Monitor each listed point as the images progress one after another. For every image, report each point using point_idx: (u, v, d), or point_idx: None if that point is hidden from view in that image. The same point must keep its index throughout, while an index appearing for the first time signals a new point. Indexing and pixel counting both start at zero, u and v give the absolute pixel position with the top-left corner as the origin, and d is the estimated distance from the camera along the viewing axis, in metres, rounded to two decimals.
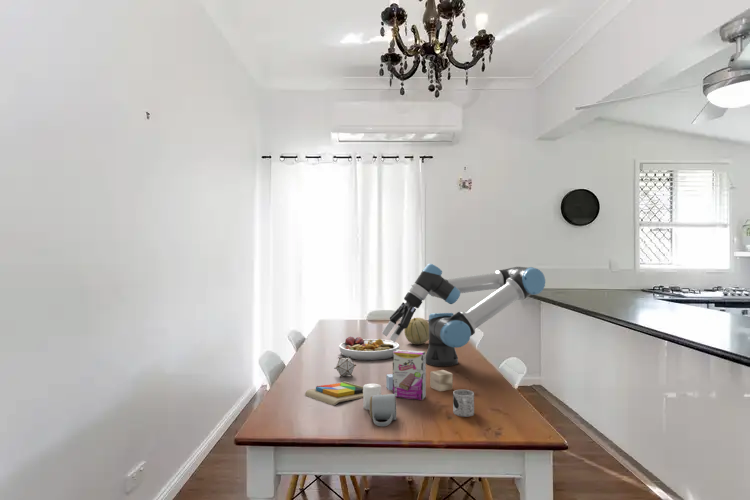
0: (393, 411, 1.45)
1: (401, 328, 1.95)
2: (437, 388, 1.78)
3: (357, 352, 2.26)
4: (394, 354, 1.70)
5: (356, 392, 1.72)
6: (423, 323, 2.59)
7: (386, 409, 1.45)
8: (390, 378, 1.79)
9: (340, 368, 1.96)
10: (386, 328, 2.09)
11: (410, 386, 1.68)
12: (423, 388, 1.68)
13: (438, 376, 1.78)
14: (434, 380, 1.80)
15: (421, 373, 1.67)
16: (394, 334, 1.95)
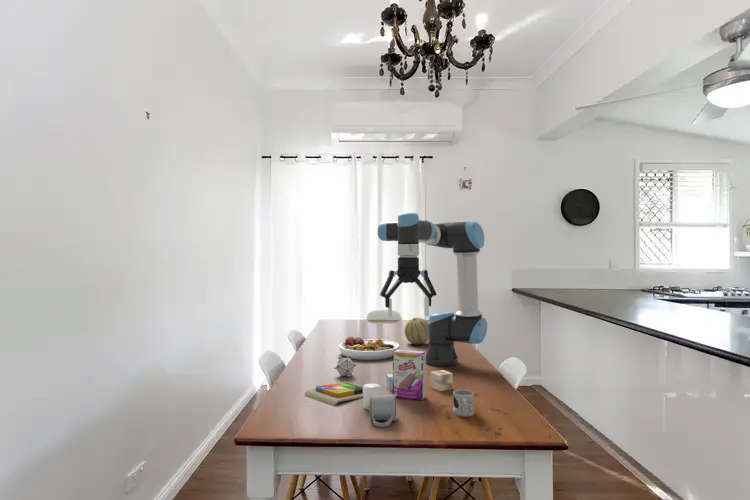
0: (393, 412, 1.44)
1: None
2: (437, 388, 1.78)
3: (357, 352, 2.26)
4: (394, 354, 1.70)
5: (356, 392, 1.72)
6: (423, 323, 2.59)
7: (386, 410, 1.45)
8: (390, 378, 1.79)
9: (340, 368, 1.96)
10: None
11: (410, 386, 1.68)
12: (423, 388, 1.68)
13: (438, 376, 1.78)
14: (434, 380, 1.80)
15: (421, 373, 1.67)
16: None
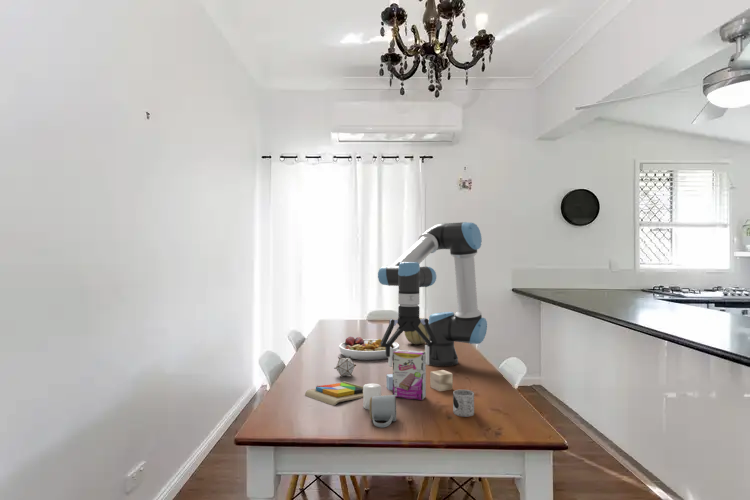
0: (393, 412, 1.44)
1: None
2: (437, 388, 1.78)
3: (357, 352, 2.26)
4: (394, 354, 1.70)
5: (356, 392, 1.72)
6: None
7: (386, 410, 1.44)
8: (390, 378, 1.79)
9: (340, 368, 1.96)
10: (391, 358, 1.68)
11: (410, 386, 1.68)
12: (423, 388, 1.68)
13: (438, 376, 1.78)
14: (434, 380, 1.80)
15: (421, 373, 1.67)
16: None
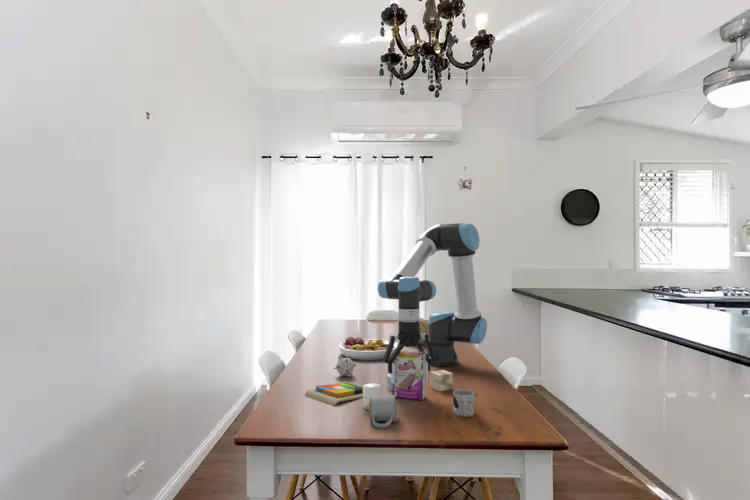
0: (393, 413, 1.44)
1: None
2: (437, 388, 1.78)
3: (357, 352, 2.26)
4: None
5: (356, 392, 1.72)
6: (423, 323, 2.59)
7: (386, 411, 1.44)
8: (390, 378, 1.79)
9: (340, 368, 1.96)
10: None
11: (410, 386, 1.68)
12: (423, 388, 1.68)
13: (438, 376, 1.78)
14: (434, 380, 1.80)
15: (421, 373, 1.67)
16: None
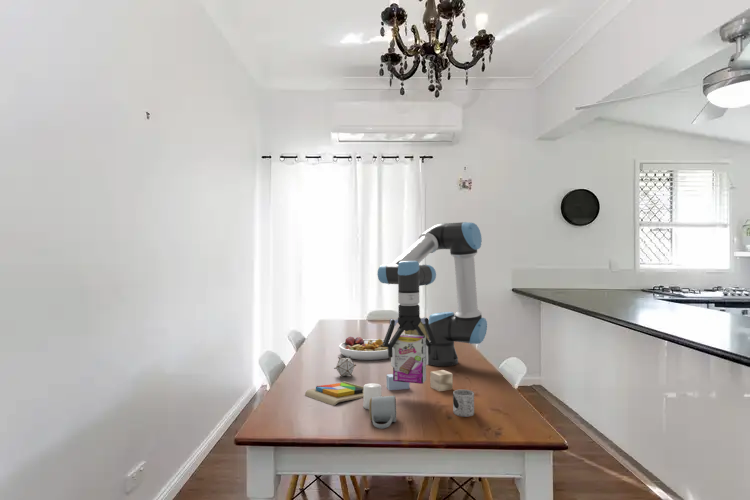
0: (393, 413, 1.43)
1: None
2: (437, 388, 1.78)
3: (357, 352, 2.26)
4: None
5: (356, 392, 1.72)
6: None
7: (386, 411, 1.44)
8: (390, 378, 1.79)
9: (340, 368, 1.96)
10: None
11: (410, 370, 1.68)
12: (423, 372, 1.68)
13: (438, 376, 1.78)
14: (434, 380, 1.80)
15: (421, 357, 1.67)
16: None
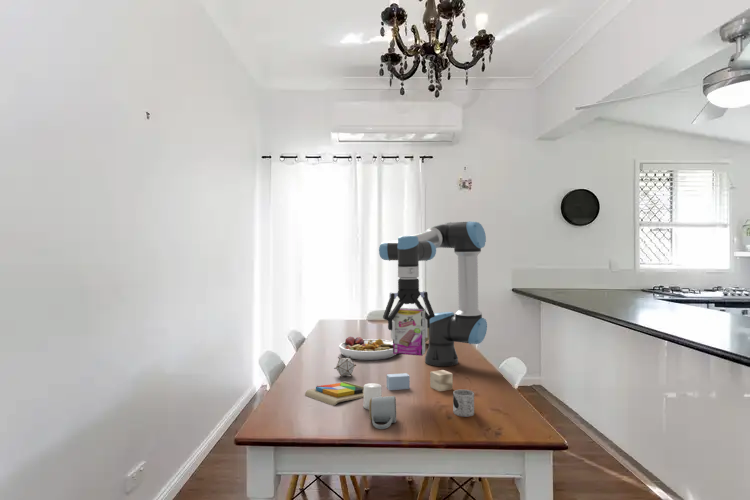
0: (393, 413, 1.43)
1: None
2: (437, 388, 1.78)
3: (357, 352, 2.26)
4: None
5: (356, 392, 1.72)
6: None
7: (386, 411, 1.43)
8: (390, 378, 1.79)
9: (340, 368, 1.96)
10: None
11: (410, 342, 1.71)
12: (423, 344, 1.71)
13: (438, 376, 1.78)
14: (434, 380, 1.80)
15: (421, 329, 1.70)
16: None
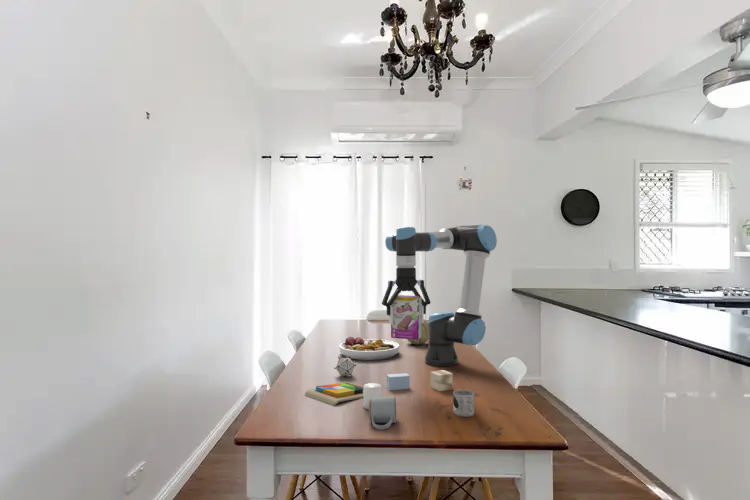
0: (393, 414, 1.42)
1: None
2: (437, 388, 1.78)
3: (357, 352, 2.26)
4: None
5: (356, 392, 1.72)
6: (423, 323, 2.59)
7: (386, 412, 1.43)
8: (390, 378, 1.79)
9: (340, 368, 1.96)
10: None
11: (407, 327, 1.82)
12: (419, 329, 1.82)
13: (438, 376, 1.78)
14: (434, 380, 1.80)
15: (417, 314, 1.81)
16: None
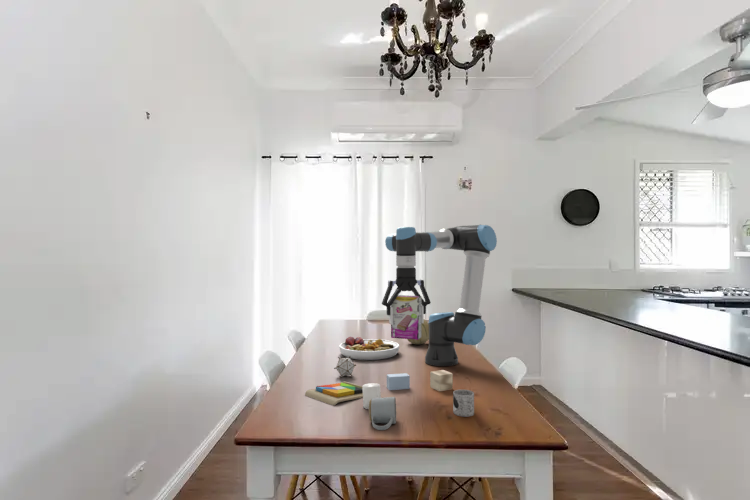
0: (393, 414, 1.42)
1: None
2: (437, 388, 1.78)
3: (357, 352, 2.26)
4: None
5: (356, 392, 1.72)
6: (423, 323, 2.59)
7: (385, 412, 1.42)
8: (390, 378, 1.79)
9: (340, 368, 1.96)
10: None
11: (407, 327, 1.82)
12: (419, 329, 1.82)
13: (438, 376, 1.78)
14: (434, 380, 1.80)
15: (417, 314, 1.81)
16: None
